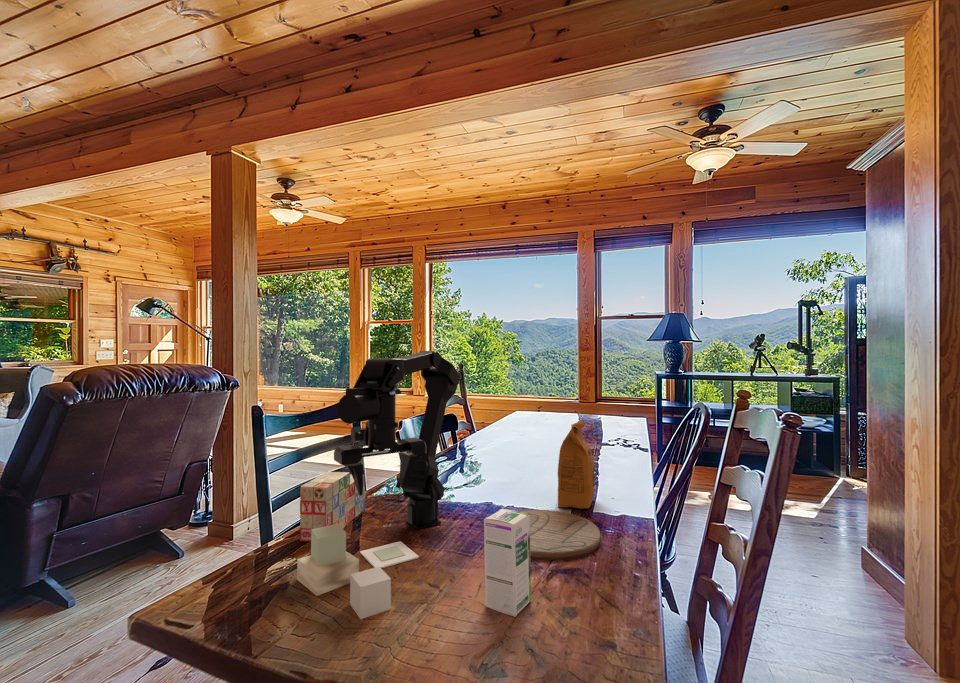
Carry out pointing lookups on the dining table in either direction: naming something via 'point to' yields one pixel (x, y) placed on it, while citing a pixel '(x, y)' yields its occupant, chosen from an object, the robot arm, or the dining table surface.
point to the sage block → (328, 545)
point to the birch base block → (326, 573)
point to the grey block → (370, 592)
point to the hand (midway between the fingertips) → (381, 491)
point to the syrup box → (507, 561)
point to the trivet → (560, 535)
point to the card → (388, 555)
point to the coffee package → (575, 471)
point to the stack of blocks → (329, 502)
